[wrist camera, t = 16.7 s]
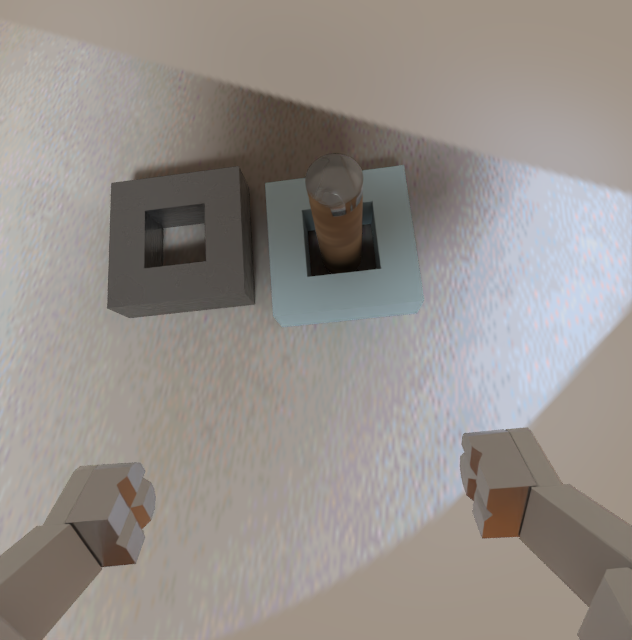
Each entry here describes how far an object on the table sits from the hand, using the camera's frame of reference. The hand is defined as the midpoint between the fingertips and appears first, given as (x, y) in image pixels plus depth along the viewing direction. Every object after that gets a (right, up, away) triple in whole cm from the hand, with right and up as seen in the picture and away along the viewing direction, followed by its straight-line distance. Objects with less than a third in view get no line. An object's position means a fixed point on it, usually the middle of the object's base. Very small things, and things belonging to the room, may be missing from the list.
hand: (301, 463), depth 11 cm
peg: (+2, +8, +22) cm, 24 cm away
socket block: (-10, +9, +23) cm, 27 cm away
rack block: (+2, +8, +22) cm, 24 cm away
